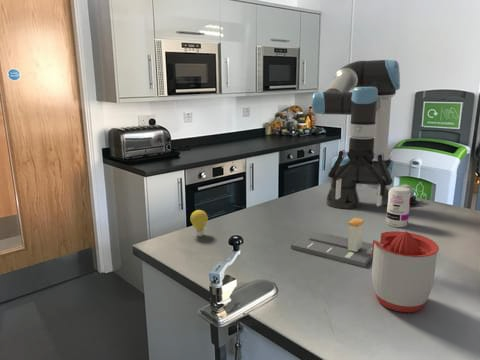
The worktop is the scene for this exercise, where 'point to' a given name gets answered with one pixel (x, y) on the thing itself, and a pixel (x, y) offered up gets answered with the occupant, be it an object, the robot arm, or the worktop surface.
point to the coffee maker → (412, 198)
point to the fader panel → (332, 248)
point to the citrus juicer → (403, 270)
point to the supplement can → (398, 206)
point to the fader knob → (355, 234)
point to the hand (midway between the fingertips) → (357, 201)
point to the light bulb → (199, 221)
